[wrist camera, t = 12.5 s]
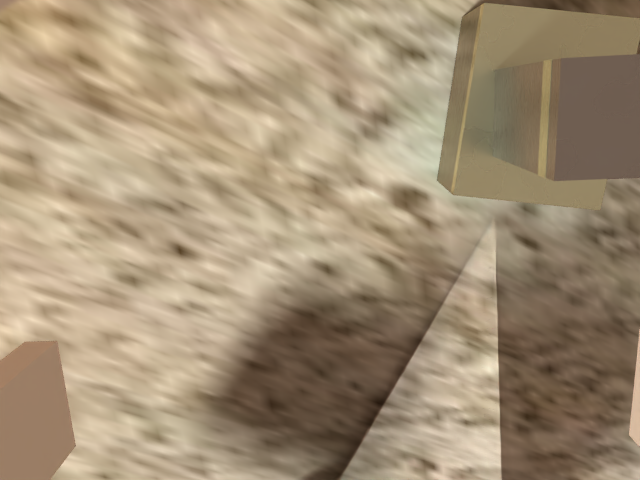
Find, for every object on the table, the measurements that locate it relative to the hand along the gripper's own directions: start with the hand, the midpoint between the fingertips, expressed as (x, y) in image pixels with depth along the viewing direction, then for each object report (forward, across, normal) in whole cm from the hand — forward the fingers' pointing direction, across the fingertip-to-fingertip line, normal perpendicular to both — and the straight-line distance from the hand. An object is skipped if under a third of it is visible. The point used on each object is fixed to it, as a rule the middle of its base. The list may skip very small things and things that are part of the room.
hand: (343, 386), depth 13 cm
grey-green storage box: (+28, +12, +5) cm, 31 cm away
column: (+22, +12, +5) cm, 26 cm away
